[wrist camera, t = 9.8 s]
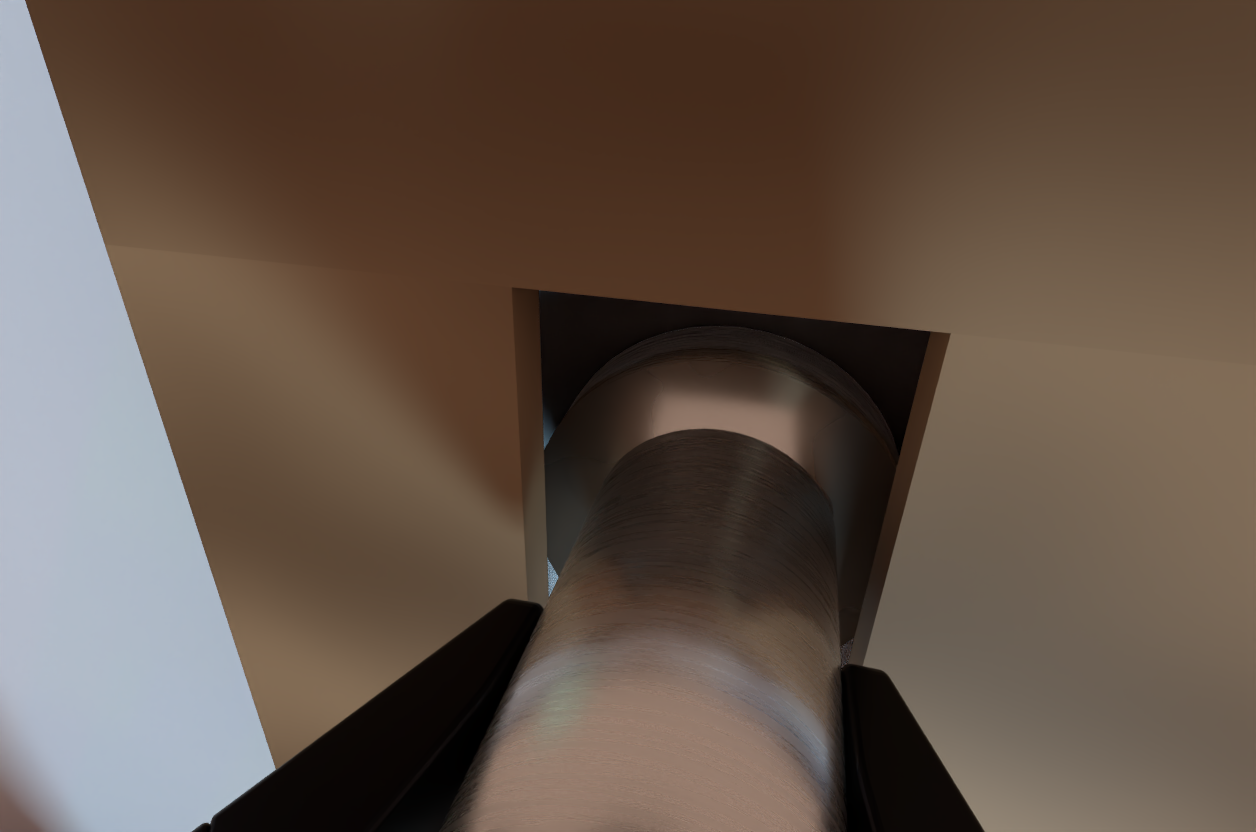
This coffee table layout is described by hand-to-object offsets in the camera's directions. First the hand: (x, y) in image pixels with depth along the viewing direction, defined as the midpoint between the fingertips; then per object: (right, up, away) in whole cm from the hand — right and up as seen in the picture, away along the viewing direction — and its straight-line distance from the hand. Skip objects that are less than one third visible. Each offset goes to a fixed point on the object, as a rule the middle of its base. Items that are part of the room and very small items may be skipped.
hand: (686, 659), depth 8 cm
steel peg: (+1, +2, +3) cm, 3 cm away
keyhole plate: (+1, -1, +4) cm, 5 cm away
